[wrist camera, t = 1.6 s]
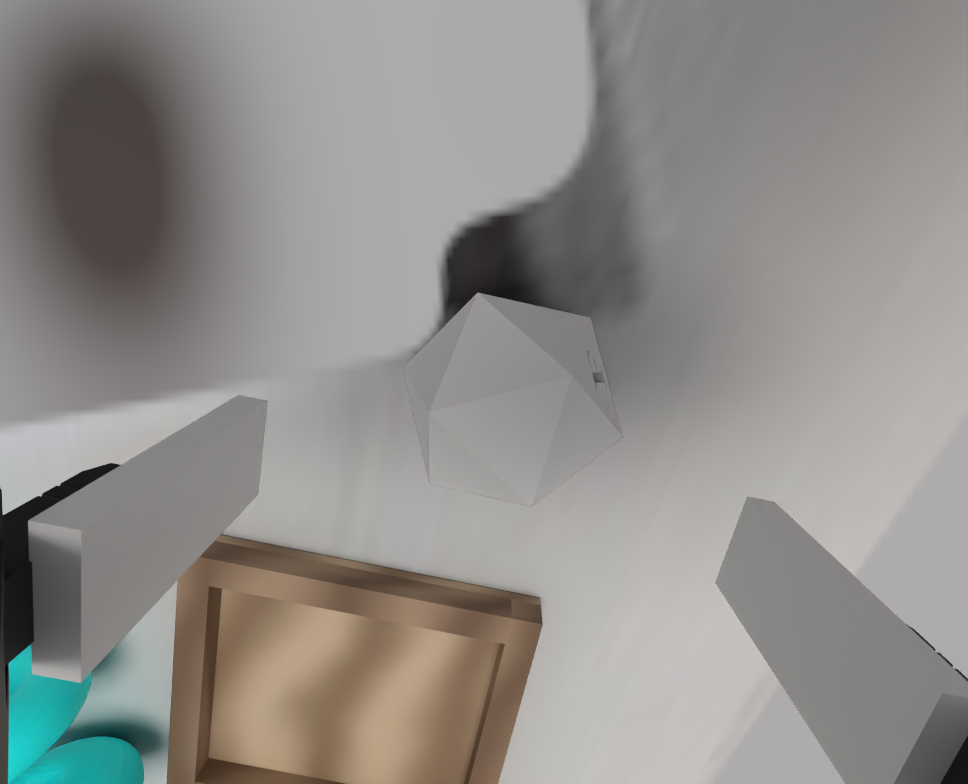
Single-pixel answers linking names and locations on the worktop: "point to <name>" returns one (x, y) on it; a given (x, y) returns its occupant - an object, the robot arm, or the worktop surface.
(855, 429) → the worktop surface
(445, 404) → the die
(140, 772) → the donuts
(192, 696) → the tray
